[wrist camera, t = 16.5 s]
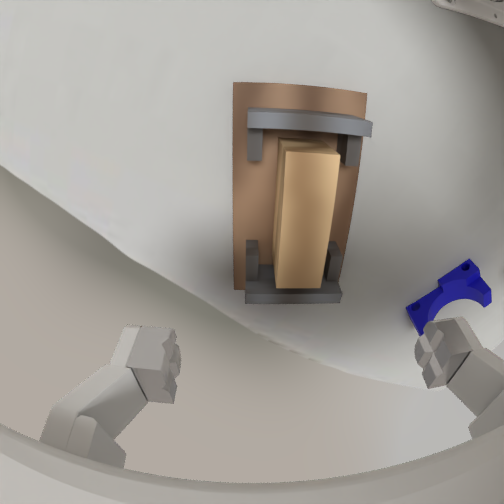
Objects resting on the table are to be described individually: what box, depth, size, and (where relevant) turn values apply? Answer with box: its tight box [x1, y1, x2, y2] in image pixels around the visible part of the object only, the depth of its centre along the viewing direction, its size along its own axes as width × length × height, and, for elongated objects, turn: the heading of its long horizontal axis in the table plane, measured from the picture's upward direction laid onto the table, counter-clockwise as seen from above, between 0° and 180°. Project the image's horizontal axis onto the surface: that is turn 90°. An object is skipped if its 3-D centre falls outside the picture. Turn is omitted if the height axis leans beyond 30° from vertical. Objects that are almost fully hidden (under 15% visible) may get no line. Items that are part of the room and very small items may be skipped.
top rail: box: [272, 137, 340, 288], centre depth 26 cm, size 4×12×6 cm, turn 179°
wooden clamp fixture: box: [233, 82, 373, 304], centre depth 27 cm, size 12×22×6 cm, turn 179°
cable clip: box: [406, 259, 492, 337], centre depth 35 cm, size 12×4×6 cm, turn 125°
